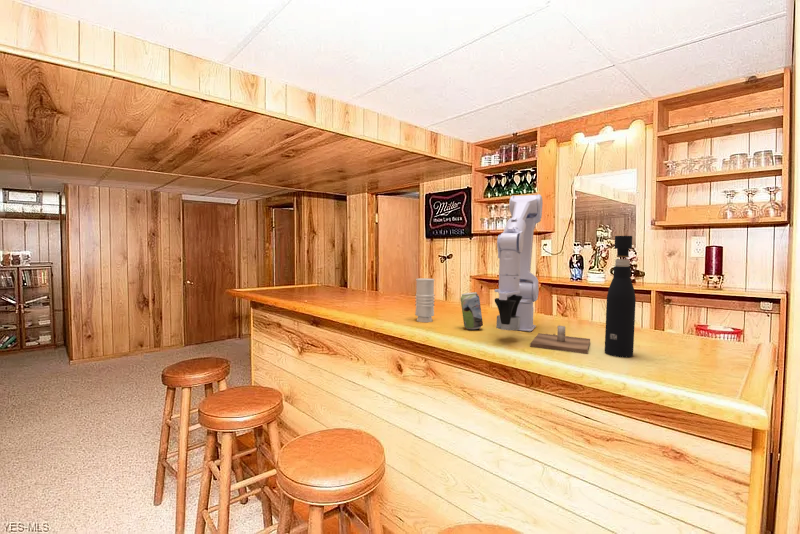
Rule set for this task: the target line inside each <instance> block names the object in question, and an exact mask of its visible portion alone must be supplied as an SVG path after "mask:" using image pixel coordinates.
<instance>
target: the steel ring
mask: <svg viewBox="0 0 800 534" xmlns="http://www.w3.org/2000/svg"><path fill="white" fill-rule="evenodd" d="M495 327H496V329H499V330H502V331H520V330H519V329H520V317H519V316H515V315H511V320H510V324H509V325H507V324H502V323H501V319H500V314H497V315H496V326H495Z"/></svg>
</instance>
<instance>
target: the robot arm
mask: <svg viewBox="0 0 800 534" xmlns="http://www.w3.org/2000/svg"><path fill="white" fill-rule="evenodd" d="M508 206H509V207H508V209H509V213H510V218H509V219H508V220H507V221H506V223H505V226H504V230H503V232H502V233H500V234H498V236H497V240H496V248H497V258H498V261H499V262H498V288H495V289H494V293H498V297H495V298H494V303H495V305H496V306H497V310H498V313H499V314H498V315H500V319H501V323H502V324H507V325H509V324H510V320H511V315H515V316H519V317H520V329H519V330H518V331H523V332H532V331H533V330H534V329H535V328H536V327H537V325H536V324H534V302H536V301H537V300H538V297H539V288H540V287H539V279H538V277H537V276H536V275H535V274H533V273H532V272H531V269H532V257H533V256H532V255H533V243H534V231H535V228H536V225H537V224H538V223H540V222H541V221H542V220H541V219H542V216H543V196H542V195H541V194H540V193H538V194H530V195H526V194H525V195H511V196H510V197H509V205H508Z"/></svg>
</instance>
